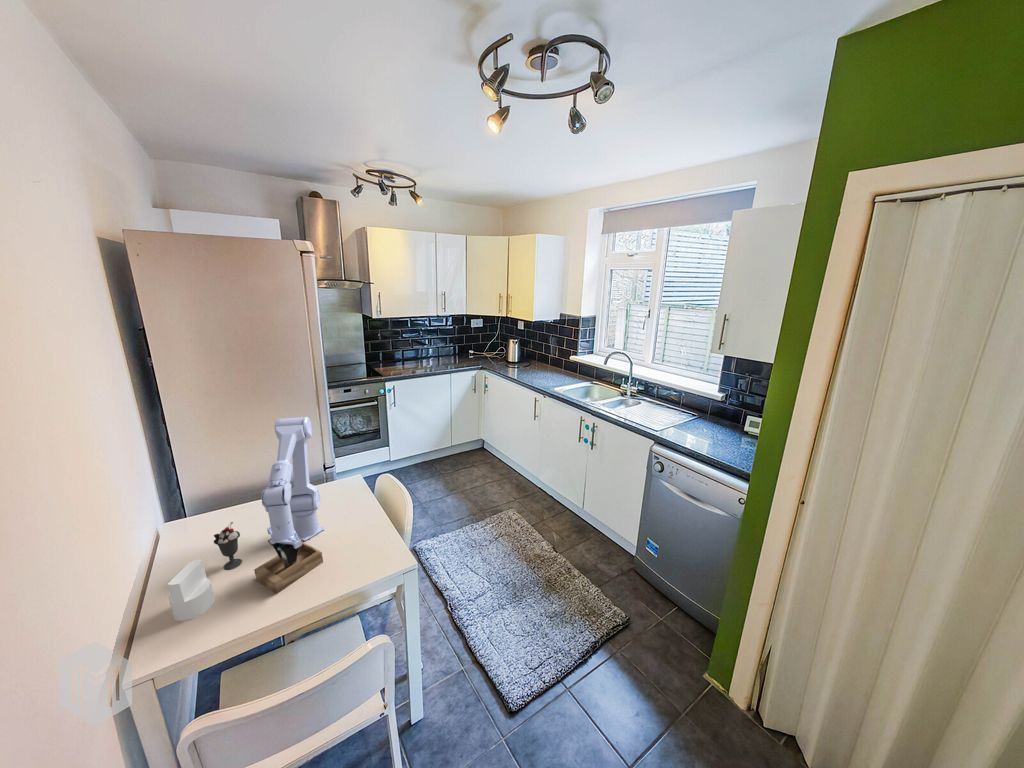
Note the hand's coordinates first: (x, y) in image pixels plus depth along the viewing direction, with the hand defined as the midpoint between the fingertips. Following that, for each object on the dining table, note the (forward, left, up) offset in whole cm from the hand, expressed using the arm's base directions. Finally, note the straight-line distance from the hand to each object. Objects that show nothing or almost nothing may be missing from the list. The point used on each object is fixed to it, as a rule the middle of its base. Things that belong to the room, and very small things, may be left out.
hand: (288, 559), depth 118 cm
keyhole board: (0, 0, -4) cm, 5 cm away
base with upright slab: (-10, -21, -5) cm, 24 cm away
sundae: (-19, -7, -5) cm, 21 cm away
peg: (+1, 0, -2) cm, 2 cm away
